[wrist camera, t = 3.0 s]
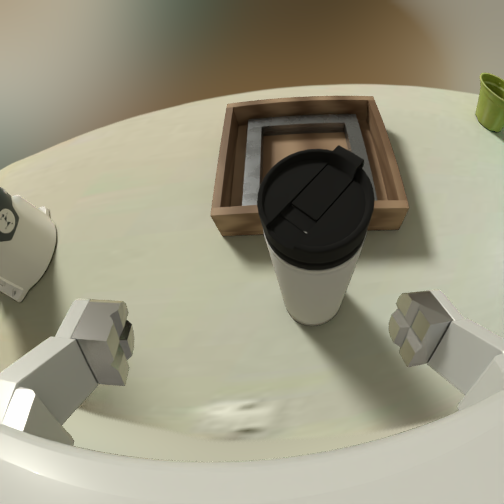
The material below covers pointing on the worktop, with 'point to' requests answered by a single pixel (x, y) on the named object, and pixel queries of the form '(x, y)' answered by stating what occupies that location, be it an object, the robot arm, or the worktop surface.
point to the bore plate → (296, 126)
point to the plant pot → (491, 102)
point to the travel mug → (315, 227)
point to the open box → (280, 146)
